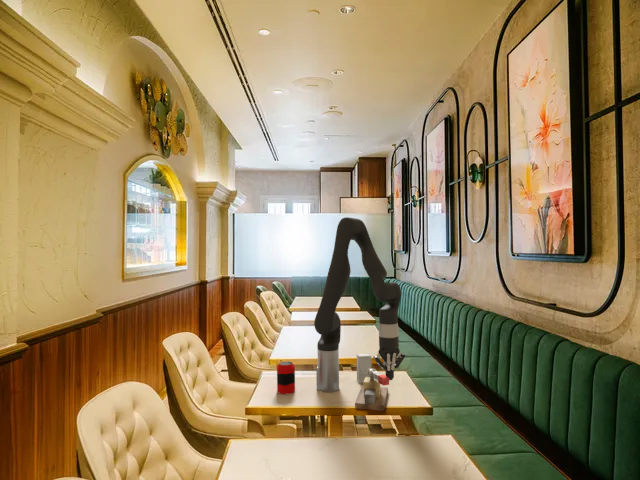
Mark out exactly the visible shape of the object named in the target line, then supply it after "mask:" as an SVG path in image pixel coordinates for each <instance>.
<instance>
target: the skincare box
mask: <svg viewBox="0 0 640 480" xmlns="http://www.w3.org/2000/svg"><path fill="white" fill-rule="evenodd" d="M370 368H372V355H371V354H370V353H357V354H356V381H357V383H358V384H364V380H365V377H369V376H368V369H370Z"/></svg>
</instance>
